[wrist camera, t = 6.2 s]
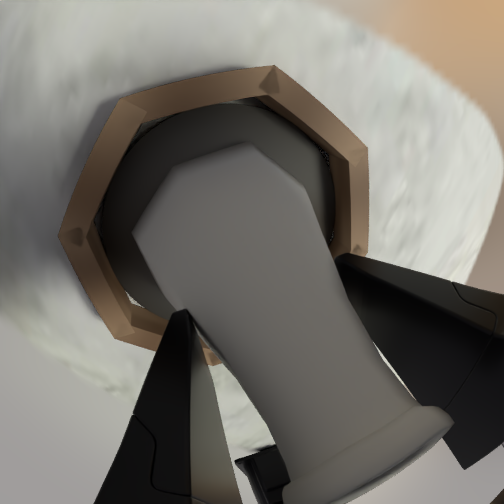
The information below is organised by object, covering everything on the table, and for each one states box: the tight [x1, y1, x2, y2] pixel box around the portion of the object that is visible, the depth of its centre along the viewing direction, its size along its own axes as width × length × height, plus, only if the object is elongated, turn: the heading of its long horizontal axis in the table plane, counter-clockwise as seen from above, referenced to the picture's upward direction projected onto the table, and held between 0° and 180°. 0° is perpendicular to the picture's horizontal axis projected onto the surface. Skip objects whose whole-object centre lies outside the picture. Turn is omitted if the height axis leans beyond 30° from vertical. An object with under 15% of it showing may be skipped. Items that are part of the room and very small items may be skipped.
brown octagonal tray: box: [58, 65, 369, 366], centre depth 11 cm, size 12×12×2 cm
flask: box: [131, 141, 455, 504], centre depth 7 cm, size 7×7×10 cm
